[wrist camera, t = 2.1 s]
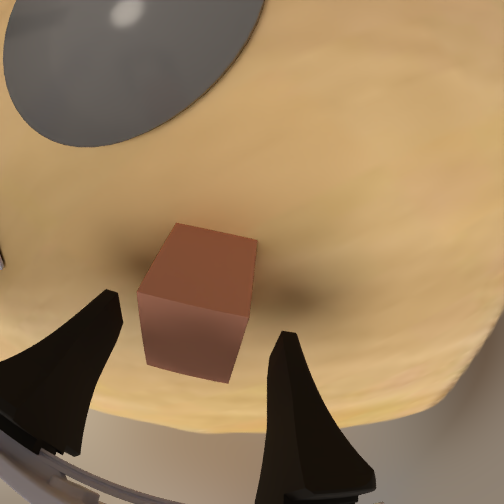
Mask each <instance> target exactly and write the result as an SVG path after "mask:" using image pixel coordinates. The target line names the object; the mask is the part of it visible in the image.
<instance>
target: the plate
mask: <svg viewBox="0 0 504 504" xmlns="http://www.w3.org/2000/svg"><path fill="white" fill-rule="evenodd" d="M264 1H265V0H16V2H15V4H14V7H13V10H12V12H11V15H10V18H9V22H8V25H7V29H6V34H5V41H4V51H3V65H4V75H5V80H6V85H7V88H8V91H9V94H10V97H11V100H12V102H13V104H14V106H15V108H16V109H17V111H18V112H19V114H20V115H21V117H22V118H23V119H24V120H25V121H26V122H27V123H28V125H29V126H30V127H31V128H33V129H34V130H35V131H37V132H38V133H39V134H41V135H42V136H44V137H46V138H48V139H50V140H52V141H54V142H57V143H60V144H63V145H68V146H75V147H98V146H105V145H111V144H115V143H118V142H122V141H125V140H128V139H131V138H133V137H135V136H138V135H140V134H143V133H145V132H147V131H150V130H152V129H154V128H156V127H157V126H159V125H161V124H163V123H165V122H167V121H169V120H171V119H172V118H174V117H175V116H177V115H178V114H179V113H181V112H182V111H184V110H185V109H187V108H189V107H190V106H191V105H192V104H193V103H194V102H196V101H197V100H198V99H199V98H201V97H202V96H203V95H204V94H206V93H207V92H208V90H209V89H210V88H211V87H212V86H213V85H214V84H216V83H217V82H218V81H219V80H220V79H221V78H222V76H223V75H224V74H225V73H226V71H227V70H228V69H229V68H230V67H231V65H232V64H233V63H234V62H235V61H236V59H237V58H238V56H239V55H240V53H241V52H242V50H243V49H244V47H245V46H246V44H247V43H248V41H249V39H250V37H251V35H252V33H253V31H254V29H255V27H256V25H257V23H258V20H259V17H260V14H261V12H262V9H263V6H264Z"/></svg>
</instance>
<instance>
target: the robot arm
mask: <svg viewBox="0 0 504 504" xmlns="http://www.w3.org/2000/svg"><path fill="white" fill-rule="evenodd" d="M3 268H4V264H3V261H2V258H1V255H0V270H2V269H3ZM122 325H123V319H122V314H121V308H120V303H119V297H118V293H117V292H114V291H110V290H107V289H106V290H104V291H103V292H102V293H101V294H100V295H98V296H97V297H96V298H95V299H94V300H93V301H91V302H90V303H89V304H88V305H87V306H86V307H84V308H83V309H82V310H81V311H80V312H78V313H77V314H76V315H75V316H74V317H72V318H71V319H70V320H69V321H67V322H66V323H65V324H64V325H62V326H61V327H60V328H58V329H57V330H56V331H54V332H53V333H52V334H50V335H49V336H47V337H46V338H44V339H43V340H41V341H40V342H38V343H37V344H35V345H33V346H32V347H30V348H28V349H26V350H25V351H23V352H21V353H19V354H17V355H15V356H13V357H10V358H8V359H6V360H4V361H1V362H0V478H1V479H2V480H4V482H6V483H7V484H8V485H9V486H10V487H11V488H12V489H13V490H15V491H16V492H17V493H18V494H19V495H21V496H22V497H23V498H24V499H25V500H27V501H28V502H29V503H31V504H105V503H103V502H100V501H98V500H99V496H100V495H99V494H98V493H95V492H93V491H91V490H89V489H87V488H85V487H83V486H81V485H78V484H76V483H74V482H71V481H69V480H67V478H66V476H65V475H67V476H69V477H71V478H73V479H75V480H77V481H79V482H81V483H83V484H86V485H88V486H90V487H92V488H95V489H97V490H99V491H102V492H104V493H107V494H109V495H112V496H114V497H117V498H120V499H122V500H125V501H128V502H131V503H134V504H184V503H179V502H175V501H170V500H167V499H163V498H159V497H155V496H151V495H148V494H145V493H142V492H138V491H135V490H132V489H129V488H126V487H124V486H121V485H118V484H115V483H112V482H110V481H108V480H105V479H103V478H100V477H98V476H96V475H93V474H91V473H88V472H87V471H84V470H82V469H80V468H78V467H76V466H74V465H72V464H70V463H68V462H66V461H64V460H62V459H60V458H58V457H57V456H55V454H56V452H58V453H60V454H61V455H63V454H64V452H66V453H68V454H70V455H72V456H74V457H75V456H78V455H80V453H81V444H82V437H83V432H84V427H85V422H86V417H87V413H88V409H89V406H90V402H91V399H92V396H93V392H94V389H95V386H96V384H97V381H98V379H99V377H100V375H101V373H102V370H103V368H104V366H105V364H106V362H107V360H108V358H109V356H110V354H111V352H112V350H113V348H114V346H115V344H116V342H117V339H118V336H119V333H120V331H121V328H122ZM375 489H376V479H375V474H374V470H373V469H372V468H371V467H370V466H369V465H368V464H367V463H366V462H365V461H364V459H363V458H362V457H361V456H360V455H359V454H358V453H357V451H356V450H355V449H354V448H353V447H352V445H351V444H350V443H349V441H348V440H347V439H346V437H345V436H344V434H343V433H342V432H341V430H340V429H339V427H338V426H337V424H336V423H335V421H334V419H333V418H332V416H331V414H330V413H329V411H328V409H327V407H326V406H325V404H324V402H323V400H322V398H321V396H320V394H319V392H318V390H317V387H316V385H315V383H314V381H313V378H312V376H311V373H310V371H309V368H308V366H307V363H306V360H305V358H304V355H303V352H302V349H301V346H300V343H299V339H298V336H297V334H296V333H293V332H287V331H282V332H281V334H280V336H279V338H278V340H277V342H276V344H275V347H274V349H273V351H272V353H271V355H270V358H269V366H268V375H267V432H266V440H265V448H264V455H263V463H262V469H261V474H260V480H259V485H258V490H257V494H256V499H255V504H355V502H358V495H361V494H365V493H369V492H372V491H374V490H375ZM375 504H384V502H379V503H375Z"/></svg>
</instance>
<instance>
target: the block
mask: <svg viewBox="0 0 504 504" xmlns="http://www.w3.org/2000/svg"><path fill="white" fill-rule="evenodd" d="M256 249H257V240H255V239H250V238H245V237H241V236H236V235H232V234H227V233H222V232H217V231H213V230H208V229H203V228H198V227H194V226H189V225H184V224H179V223H176V224H175V226H174V228H173V229H172V231H171V232H170V234H169V236H168V237H167V239H166V241H165V242H164V244H163V246H162V248H161V249H160V251H159V253H158V254H157V256H156V258H155V260H154V261H153V263H152V265H151V267H150V268H149V270H148V272H147V274H146V276H145V277H144V279H143V281H142V283H141V285H140V287H139V288H138V290H137V299H138V308H139V316H140V324H141V331H142V338H143V344H144V351H145V356H146V362H147V365H150V366H154V367H157V368H161V369H165V370H169V371H173V372H176V373H181V374H185V375H189V376H193V377H198V378H202V379H207V380H212V381H217V382H222V383H227V384H228V383H229V380H230V377H231V374H232V371H233V368H234V364H235V361H236V358H237V355H238V352H239V349H240V345H241V342H242V339H243V336H244V333H245V329H246V326H247V323H248V320H249V315H250V305H251V296H252V287H253V277H254V268H255V258H256Z"/></svg>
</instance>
